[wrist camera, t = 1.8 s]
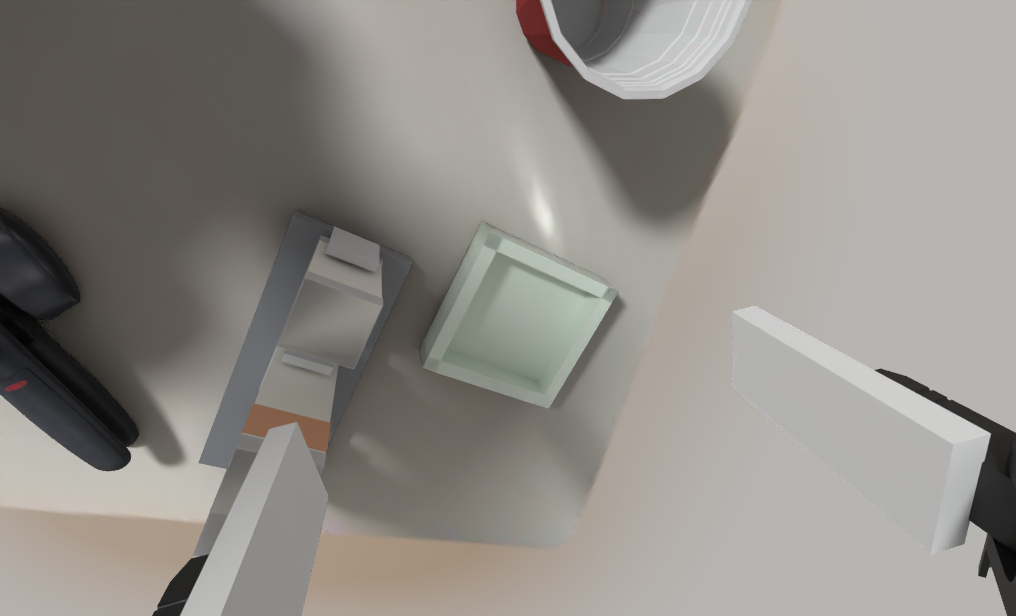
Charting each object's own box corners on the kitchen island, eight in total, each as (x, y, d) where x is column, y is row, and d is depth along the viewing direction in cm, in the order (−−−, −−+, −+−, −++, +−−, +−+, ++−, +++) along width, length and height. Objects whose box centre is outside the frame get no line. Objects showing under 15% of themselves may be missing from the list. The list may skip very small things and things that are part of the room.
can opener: (-105, 226, 27) (-213, 256, 22) (28, 193, 28) (-48, 215, 23) (84, 458, 35) (35, 518, 30) (183, 427, 36) (152, 481, 31)
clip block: (203, 453, 37) (176, 508, 32) (298, 205, 32) (283, 225, 27) (310, 475, 40) (300, 529, 35) (413, 252, 35) (418, 279, 30)
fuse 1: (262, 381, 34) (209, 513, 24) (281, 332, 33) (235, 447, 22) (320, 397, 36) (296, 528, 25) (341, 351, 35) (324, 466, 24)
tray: (419, 348, 38) (422, 368, 35) (482, 221, 35) (490, 232, 32) (537, 388, 42) (548, 409, 39) (602, 277, 39) (618, 291, 36)
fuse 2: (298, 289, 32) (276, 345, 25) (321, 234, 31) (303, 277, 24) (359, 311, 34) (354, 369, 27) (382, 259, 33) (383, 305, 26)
